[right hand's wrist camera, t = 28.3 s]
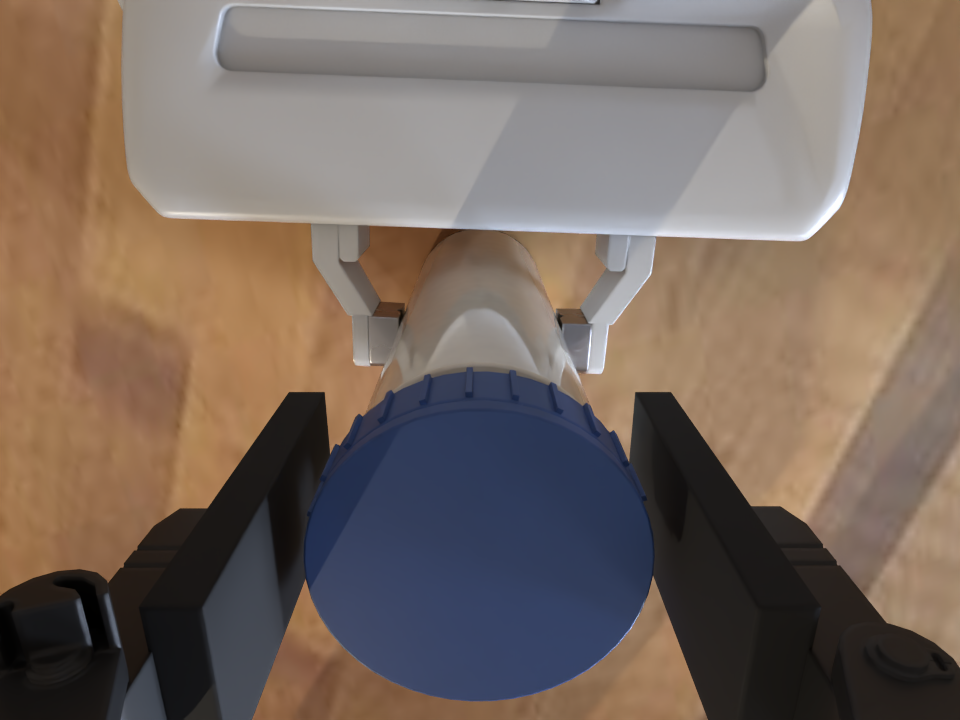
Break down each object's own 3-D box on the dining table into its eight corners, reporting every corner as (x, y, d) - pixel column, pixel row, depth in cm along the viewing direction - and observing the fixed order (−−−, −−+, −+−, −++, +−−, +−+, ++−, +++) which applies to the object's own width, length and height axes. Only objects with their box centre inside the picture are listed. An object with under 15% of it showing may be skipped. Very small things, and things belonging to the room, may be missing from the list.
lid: (521, 680, 13) (526, 752, 12) (266, 552, 12) (236, 612, 11) (702, 472, 12) (735, 524, 10) (425, 301, 11) (416, 331, 9)
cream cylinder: (398, 313, 28) (287, 576, 12) (453, 205, 27) (411, 339, 10) (503, 366, 29) (533, 679, 13) (563, 264, 27) (683, 473, 11)
